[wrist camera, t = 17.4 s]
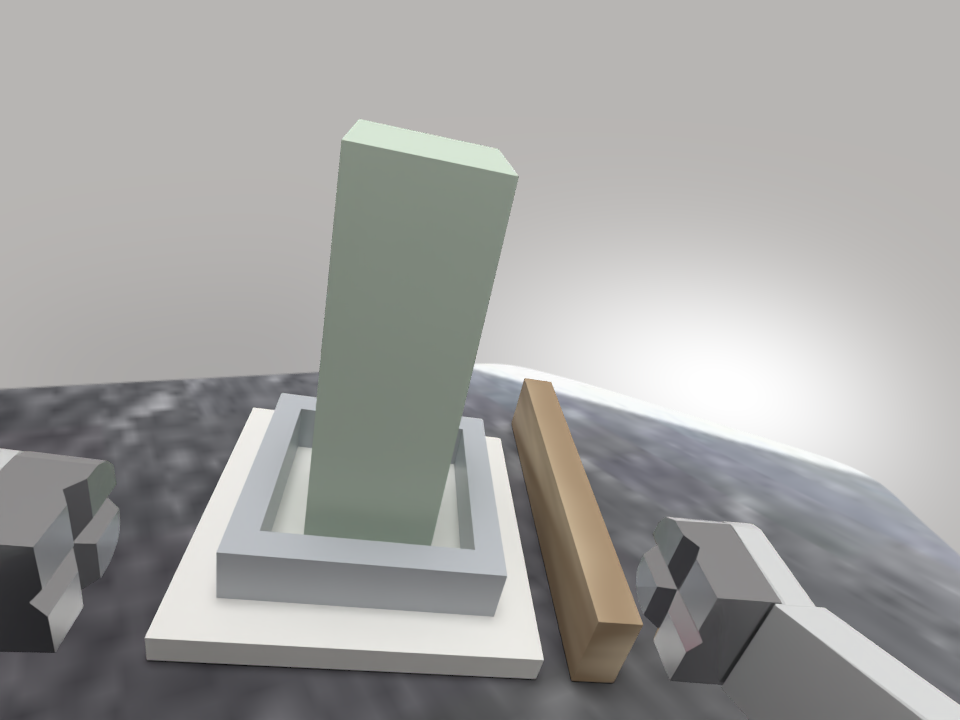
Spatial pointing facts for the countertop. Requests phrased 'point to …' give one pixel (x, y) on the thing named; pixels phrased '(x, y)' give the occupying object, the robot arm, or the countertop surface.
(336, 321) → the sage bar
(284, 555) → the grey keeper socket
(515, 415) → the oak board
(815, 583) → the countertop surface
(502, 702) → the countertop surface
